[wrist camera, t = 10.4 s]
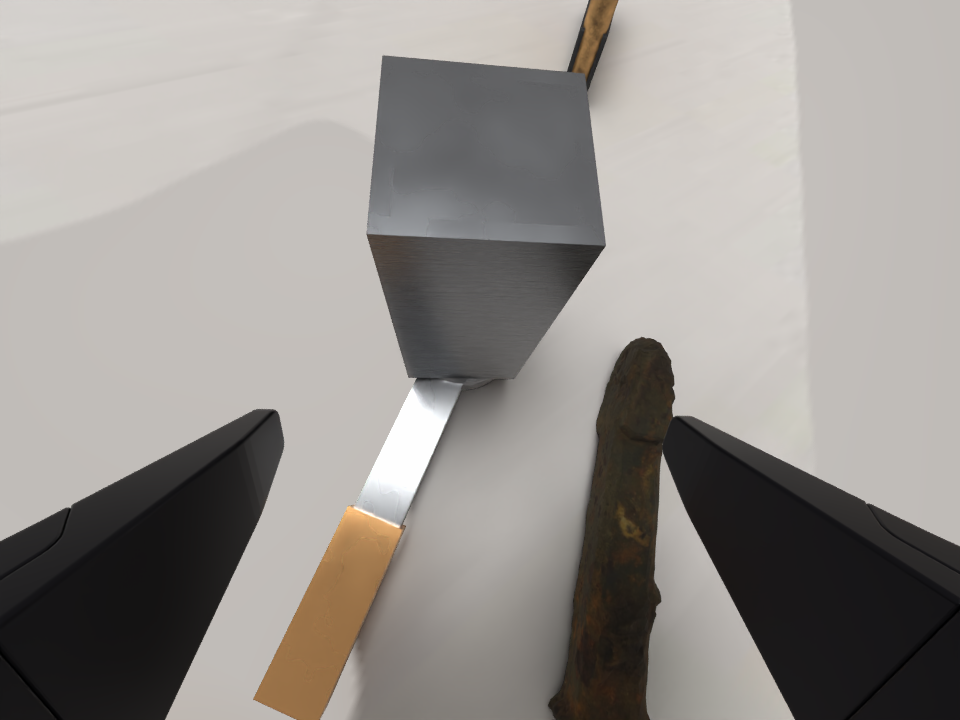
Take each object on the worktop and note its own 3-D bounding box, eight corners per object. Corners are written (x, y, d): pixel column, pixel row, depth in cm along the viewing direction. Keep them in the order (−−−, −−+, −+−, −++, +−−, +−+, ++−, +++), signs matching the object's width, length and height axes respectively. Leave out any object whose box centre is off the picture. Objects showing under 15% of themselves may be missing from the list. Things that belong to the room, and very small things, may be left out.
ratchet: (360, 717, 18) (331, 800, 13) (241, 662, 18) (170, 725, 13) (524, 319, 25) (544, 279, 20) (436, 282, 25) (435, 234, 20)
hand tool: (621, 725, 19) (678, 798, 15) (541, 703, 19) (573, 769, 14) (664, 363, 25) (713, 336, 21) (603, 345, 25) (639, 315, 21)
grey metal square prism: (513, 379, 21) (605, 245, 9) (408, 377, 21) (366, 233, 9) (510, 286, 23) (585, 73, 11) (412, 282, 22) (382, 55, 11)
